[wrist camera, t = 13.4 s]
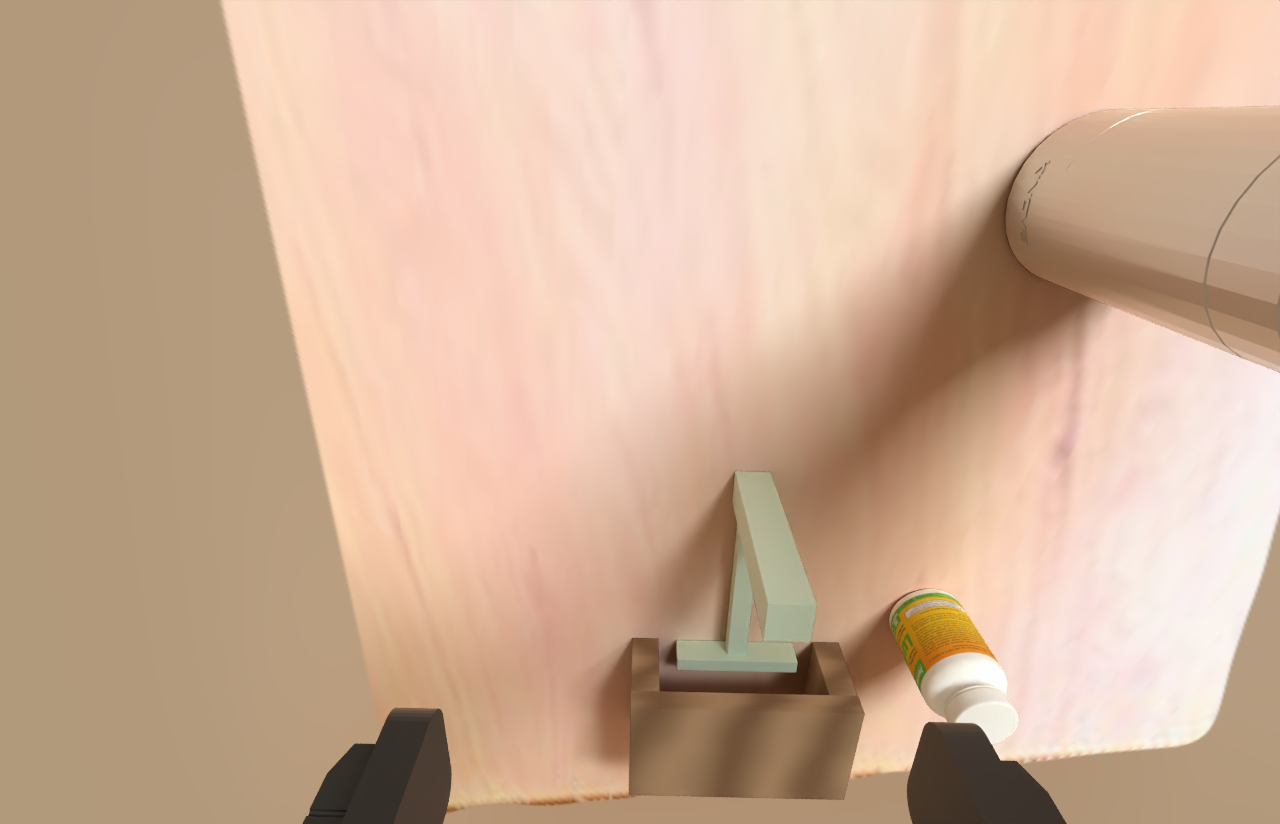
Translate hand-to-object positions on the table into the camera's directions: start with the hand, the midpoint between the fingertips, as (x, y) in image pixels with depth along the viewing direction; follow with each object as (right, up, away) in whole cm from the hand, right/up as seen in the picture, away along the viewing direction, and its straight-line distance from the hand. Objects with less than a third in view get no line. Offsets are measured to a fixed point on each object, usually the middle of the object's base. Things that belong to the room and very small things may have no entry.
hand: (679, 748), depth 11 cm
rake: (+7, -6, +36) cm, 37 cm away
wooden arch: (+7, -16, +40) cm, 44 cm away
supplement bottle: (+21, -10, +38) cm, 44 cm away
